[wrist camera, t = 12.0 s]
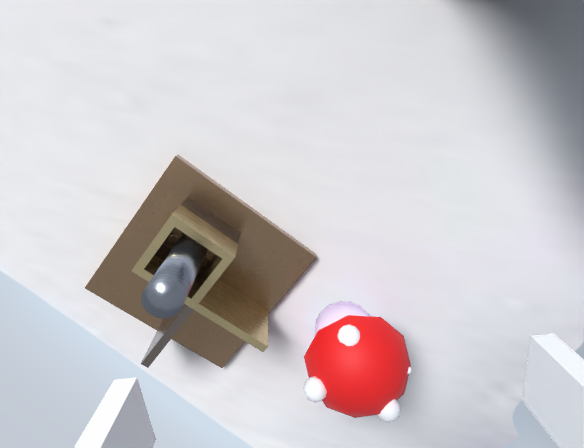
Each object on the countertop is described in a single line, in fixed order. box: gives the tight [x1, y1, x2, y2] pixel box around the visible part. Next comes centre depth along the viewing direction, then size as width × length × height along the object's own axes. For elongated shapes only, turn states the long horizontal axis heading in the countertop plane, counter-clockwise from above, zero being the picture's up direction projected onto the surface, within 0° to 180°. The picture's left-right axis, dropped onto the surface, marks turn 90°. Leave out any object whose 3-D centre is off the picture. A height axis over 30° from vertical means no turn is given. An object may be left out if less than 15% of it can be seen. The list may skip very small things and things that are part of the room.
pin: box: [141, 233, 208, 319], centre depth 33 cm, size 3×3×13 cm
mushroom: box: [304, 301, 412, 422], centre depth 39 cm, size 11×11×12 cm
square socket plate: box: [85, 155, 316, 368], centre depth 38 cm, size 18×18×8 cm
